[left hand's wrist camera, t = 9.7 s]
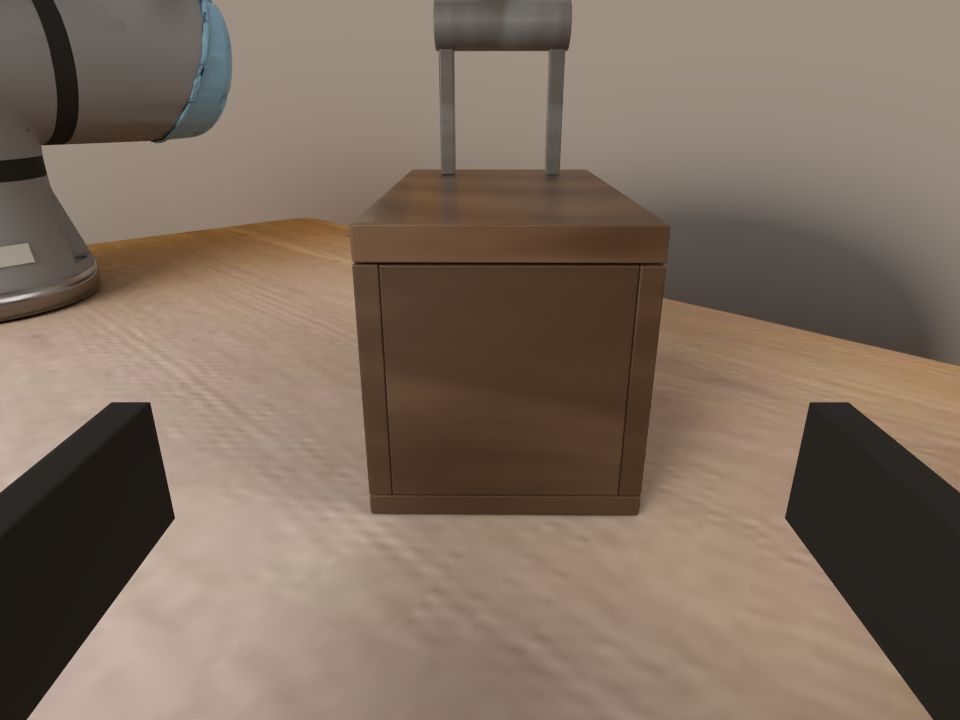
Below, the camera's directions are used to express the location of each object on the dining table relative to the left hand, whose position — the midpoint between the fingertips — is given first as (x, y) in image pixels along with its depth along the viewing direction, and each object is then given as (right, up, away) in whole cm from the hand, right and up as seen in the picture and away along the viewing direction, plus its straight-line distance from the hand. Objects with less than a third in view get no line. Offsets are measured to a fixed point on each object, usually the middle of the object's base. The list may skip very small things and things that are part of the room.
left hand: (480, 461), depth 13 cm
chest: (+1, 0, +17) cm, 17 cm away
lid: (+1, +8, +14) cm, 16 cm away
